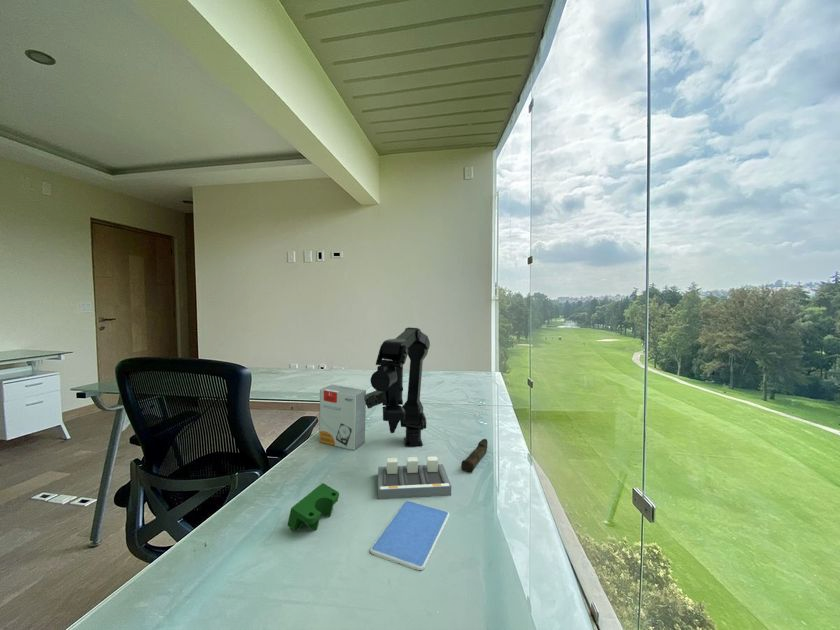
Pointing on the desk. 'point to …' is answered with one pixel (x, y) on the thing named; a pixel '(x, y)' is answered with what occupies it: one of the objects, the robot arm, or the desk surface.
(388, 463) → the tab
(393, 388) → the robot arm
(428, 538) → the tablet computer
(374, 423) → the desk surface
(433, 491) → the switch panel
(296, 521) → the clamp
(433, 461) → the tab
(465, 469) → the brown wooden log
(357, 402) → the hard drive box
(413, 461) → the tab
